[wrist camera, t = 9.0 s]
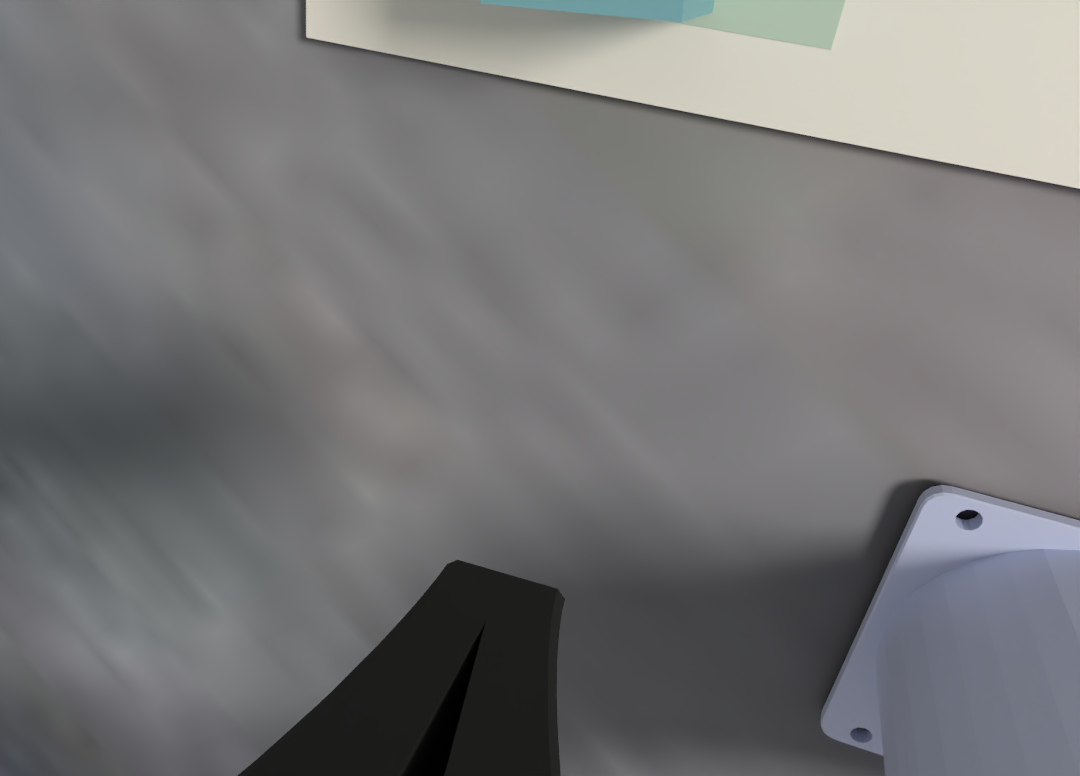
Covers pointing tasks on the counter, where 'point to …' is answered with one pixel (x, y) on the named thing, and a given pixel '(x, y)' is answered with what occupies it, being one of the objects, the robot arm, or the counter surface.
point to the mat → (785, 67)
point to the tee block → (621, 7)
